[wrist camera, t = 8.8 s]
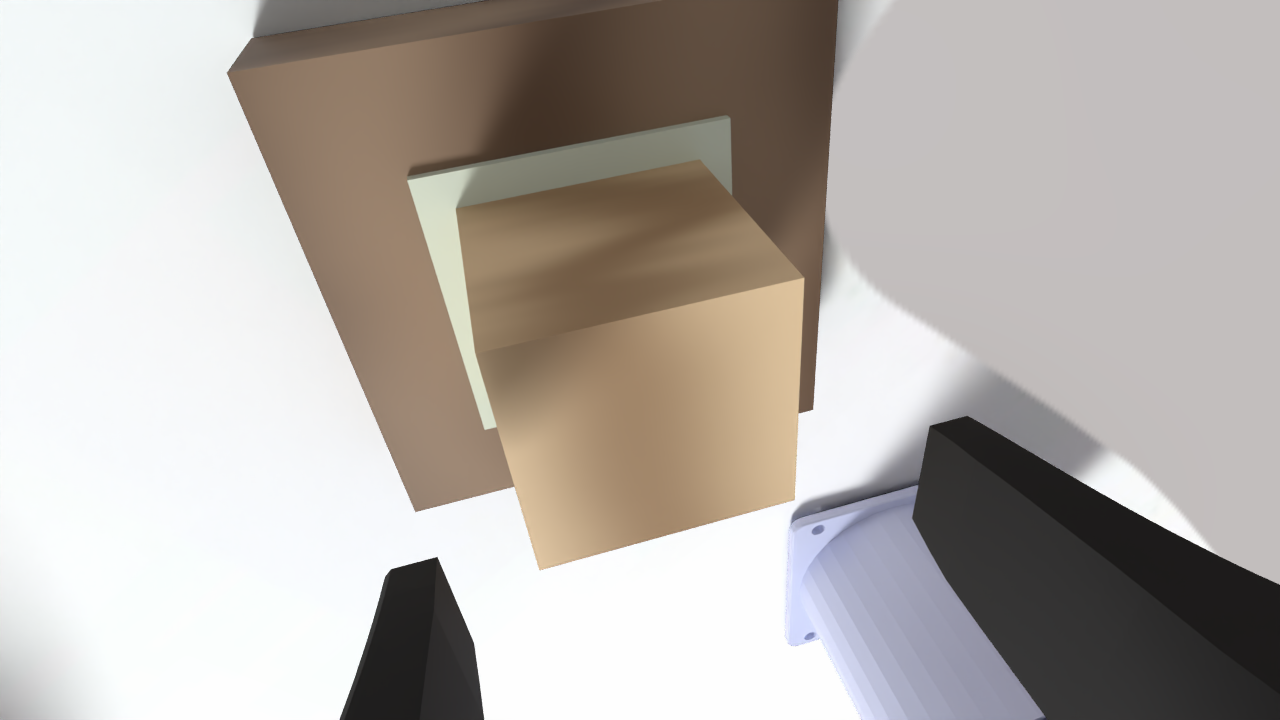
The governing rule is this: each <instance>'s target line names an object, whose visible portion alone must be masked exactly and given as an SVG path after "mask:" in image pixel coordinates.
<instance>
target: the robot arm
mask: <svg viewBox="0 0 1280 720" xmlns="http://www.w3.org/2000/svg"><path fill="white" fill-rule="evenodd" d="M785 638H786V640H787V642H788V644H789V645H791V646H798V645H801V644H805V643H808V642H811V641H815V640H818V639H820V640H821V642H822V644H823V646H824V648H825V650H826V652H827V654H828V656H829V658H830V660H831V662H832V664H833V665H834V667H835V669H836V671H837V673H838V675H839V677H840V679H841V681H842V683H843V685H844V687H845V689H846V691H847V693H848V695H849V697H850V699H851V701H852V703H853V705H854V707H855V709H856V711H857V712H858V714H859V716H860V718H861V720H1280V585H1279V584H1277V583H1274V582H1272V581H1270V580H1268V579H1266V578H1263V577H1261V576H1259V575H1257V574H1255V573H1253V572H1250V571H1248V570H1246V569H1244V568H1242V567H1240V566H1238V565H1236V564H1234V563H1232V562H1230V561H1228V560H1226V559H1224V558H1222V557H1219V556H1218V555H1216V554H1214V553H1212V552H1210V551H1208V550H1206V549H1204V548H1202V547H1200V546H1198V545H1196V544H1194V543H1192V542H1190V541H1188V540H1186V539H1184V538H1182V537H1180V536H1178V535H1176V534H1174V533H1173V532H1171V531H1169V530H1167V529H1165V528H1163V527H1161V526H1159V525H1157V524H1156V523H1154V522H1152V521H1150V520H1148V519H1146V518H1144V517H1143V516H1141V515H1139V514H1137V513H1135V512H1133V511H1132V510H1130V509H1128V508H1126V507H1124V506H1123V505H1121V504H1119V503H1117V502H1115V501H1114V500H1112V499H1110V498H1108V497H1107V496H1105V495H1103V494H1101V493H1099V492H1098V491H1096V490H1094V489H1092V488H1091V487H1089V486H1087V485H1085V484H1084V483H1082V482H1080V481H1079V480H1077V479H1075V478H1073V477H1072V476H1070V475H1068V474H1066V473H1065V472H1063V471H1061V470H1060V469H1058V468H1056V467H1055V466H1053V465H1051V464H1049V463H1048V462H1046V461H1044V460H1043V459H1041V458H1039V457H1038V456H1036V455H1034V454H1032V453H1031V452H1029V451H1027V450H1026V449H1024V448H1022V447H1021V446H1019V445H1017V444H1015V443H1014V442H1012V441H1010V440H1009V439H1007V438H1005V437H1004V436H1002V435H1000V434H998V433H997V432H995V431H993V430H992V429H990V428H988V427H986V426H985V425H983V424H981V423H979V422H977V421H976V420H974V419H972V418H970V417H968V416H965V417H961V418H958V419H954V420H950V421H946V422H943V423H939V424H935V425H931V426H930V428H929V433H928V438H927V443H926V448H925V453H924V459H923V464H922V469H921V474H920V479H919V484H918V485H916V486H912V487H909V488H905V489H902V490H898V491H894V492H891V493H887V494H884V495H880V496H877V497H873V498H869V499H866V500H862V501H859V502H855V503H851V504H848V505H844V506H841V507H837V508H834V509H830V510H826V511H823V512H819V513H816V514H812V515H808V516H805V517H801V518H799V519H797V520H795V521H794V522H793V523H792V524H791V526H790V529H789V544H788V569H787V593H786V618H785ZM340 720H484V715H483V707H482V699H481V691H480V683H479V676H478V669H477V662H476V655H475V647H474V642H473V640H472V637H471V635H470V633H469V630H468V628H467V626H466V623H465V621H464V619H463V616H462V614H461V612H460V609H459V607H458V605H457V602H456V600H455V597H454V595H453V593H452V590H451V588H450V586H449V583H448V581H447V579H446V576H445V574H444V572H443V569H442V567H441V565H440V562H439V560H438V557H436V558H432V559H428V560H424V561H421V562H417V563H413V564H409V565H406V566H402V567H398V568H394V569H391V570H390V571H389V573H388V574H387V575H386V577H385V579H384V583H383V587H382V591H381V595H380V598H379V602H378V606H377V609H376V613H375V616H374V619H373V623H372V626H371V629H370V633H369V636H368V639H367V642H366V645H365V649H364V652H363V655H362V658H361V661H360V664H359V667H358V670H357V673H356V676H355V679H354V682H353V684H352V687H351V690H350V693H349V695H348V698H347V701H346V703H345V706H344V709H343V712H342V714H341V717H340Z"/></svg>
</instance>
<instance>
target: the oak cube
mask: <svg viewBox="0 0 1280 720" xmlns="http://www.w3.org/2000/svg"><path fill="white" fill-rule="evenodd" d="M456 215H457V223H458V230H459V238H460V245H461V253H462V260H463V267H464V275H465V282H466V290H467V297H468V305H469V312H470V319H471V327H472V334H473V342H474V349H475V355H476V358H477V362H478V365H479V368H480V372H481V375H482V379H483V382H484V385H485V389H486V392H487V395H488V399H489V402H490V405H491V409H492V412H493V416H494V419H495V422H496V426H497V429H498V432H499V436H500V439H501V442H502V446H503V449H504V453H505V456H506V459H507V463H508V466H509V469H510V473H511V476H512V479H513V483H514V486H515V490H516V493H517V496H518V500H519V503H520V506H521V510H522V513H523V516H524V520H525V523H526V527H527V530H528V533H529V537H530V540H531V543H532V547H533V550H534V553H535V557H536V560H537V564H538V567H539V570H543V569H546V568H550V567H554V566H557V565H561V564H564V563H568V562H572V561H575V560H579V559H583V558H586V557H590V556H593V555H597V554H601V553H604V552H608V551H612V550H615V549H619V548H622V547H626V546H630V545H633V544H637V543H641V542H644V541H648V540H651V539H655V538H659V537H662V536H666V535H670V534H673V533H677V532H680V531H684V530H688V529H691V528H695V527H699V526H702V525H706V524H709V523H713V522H717V521H720V520H724V519H728V518H731V517H735V516H738V515H742V514H746V513H749V512H753V511H757V510H760V509H764V508H767V507H771V506H775V505H778V504H782V503H786V502H789V501H793V500H795V479H796V456H797V434H798V411H799V389H800V366H801V344H802V321H803V298H804V277H803V276H802V274H801V273H800V272H799V271H798V270H797V269H796V268H795V266H794V265H793V264H792V263H791V262H790V261H789V260H788V259H787V257H786V256H785V255H784V254H783V253H782V252H781V251H780V250H779V248H778V247H777V246H776V245H775V244H774V243H773V242H772V240H771V239H770V238H769V237H768V236H767V235H766V234H765V233H764V231H763V230H762V229H761V228H760V227H759V226H758V225H757V223H756V222H755V221H754V220H753V219H752V218H751V217H750V216H749V214H748V213H747V212H746V211H745V210H744V209H743V208H742V207H741V205H740V204H739V203H738V202H737V201H736V200H735V199H734V197H733V196H732V195H731V194H730V193H729V192H728V191H727V190H726V188H725V187H724V186H723V185H722V184H721V183H720V182H719V180H718V179H717V178H716V177H715V176H714V175H713V174H712V173H711V171H710V170H709V169H708V168H707V167H706V166H705V165H704V164H703V162H702V161H701V160H700V159H699V160H694V161H689V162H684V163H679V164H675V165H670V166H665V167H660V168H655V169H650V170H645V171H640V172H635V173H630V174H625V175H620V176H615V177H610V178H605V179H600V180H595V181H590V182H585V183H580V184H575V185H570V186H565V187H560V188H555V189H550V190H545V191H540V192H535V193H530V194H525V195H520V196H515V197H510V198H505V199H501V200H496V201H491V202H486V203H481V204H476V205H471V206H466V207H461V208H456Z"/></svg>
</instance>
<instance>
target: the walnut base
mask: <svg viewBox="0 0 1280 720" xmlns="http://www.w3.org/2000/svg"><path fill="white" fill-rule="evenodd" d="M837 13H838V0H487V1H481V2H475V3H469V4H462V5H456V6H450V7H444V8H437V9H431V10H425V11H419V12H412V13H406V14H400V15H394V16H388V17H381V18H375V19H369V20H363V21H356V22H350V23H344V24H338V25H331V26H325V27H319V28H313V29H307V30H300V31H294V32H288V33H282V34H275V35H269V36H263V37H257V38H251V40H250V41H249V42H248V44H247V45H246V47H245V48H244V49H243V51H242V52H241V54H240V55H239V57H238V58H237V59H236V61H235V62H234V64H233V65H232V66H231V68H230V69H229V71H228V72H227V74H228V77H229V79H230V81H231V83H232V86H233V88H234V90H235V93H236V95H237V97H238V100H239V102H240V104H241V107H242V109H243V111H244V114H245V116H246V118H247V121H248V123H249V125H250V128H251V130H252V132H253V135H254V137H255V139H256V142H257V144H258V146H259V149H260V151H261V153H262V156H263V158H264V160H265V163H266V165H267V167H268V170H269V172H270V174H271V177H272V179H273V181H274V184H275V186H276V188H277V191H278V193H279V195H280V198H281V200H282V202H283V205H284V207H285V209H286V212H287V214H288V216H289V219H290V221H291V223H292V226H293V228H294V230H295V233H296V235H297V237H298V240H299V242H300V244H301V247H302V249H303V251H304V254H305V256H306V258H307V261H308V263H309V265H310V267H311V270H312V272H313V274H314V277H315V279H316V281H317V284H318V286H319V288H320V291H321V293H322V295H323V298H324V300H325V302H326V305H327V307H328V309H329V312H330V314H331V316H332V319H333V321H334V323H335V326H336V328H337V330H338V333H339V335H340V337H341V340H342V342H343V344H344V347H345V349H346V351H347V354H348V356H349V358H350V361H351V363H352V365H353V368H354V370H355V372H356V375H357V377H358V379H359V382H360V384H361V386H362V389H363V391H364V393H365V396H366V398H367V400H368V403H369V405H370V407H371V410H372V412H373V414H374V417H375V419H376V421H377V424H378V426H379V428H380V431H381V433H382V435H383V438H384V440H385V442H386V444H387V447H388V449H389V451H390V454H391V456H392V458H393V461H394V463H395V465H396V468H397V470H398V472H399V475H400V477H401V479H402V482H403V484H404V486H405V489H406V491H407V493H408V496H409V498H410V500H411V503H412V505H413V507H414V510H415V512H417V511H421V510H425V509H429V508H433V507H437V506H441V505H445V504H449V503H452V502H456V501H460V500H464V499H468V498H472V497H476V496H480V495H483V494H487V493H491V492H495V491H499V490H503V489H507V488H511V487H515V486H514V483H513V479H512V476H511V473H510V469H509V466H508V463H507V459H506V456H505V453H504V449H503V446H502V442H501V439H500V436H499V432H498V429H497V426H496V422H495V419H494V416H493V412H492V409H491V405H490V402H489V399H488V395H487V392H486V389H485V385H484V382H483V379H482V375H481V372H480V368H479V365H478V362H477V358H476V355H475V349H474V342H473V334H472V327H471V319H470V312H469V305H468V297H467V290H466V282H465V275H464V267H463V260H462V253H461V245H460V238H459V230H458V223H457V215H456V208H461V207H466V206H471V205H476V204H481V203H486V202H491V201H496V200H501V199H505V198H510V197H515V196H520V195H525V194H530V193H535V192H540V191H545V190H550V189H555V188H560V187H565V186H570V185H575V184H580V183H585V182H590V181H595V180H600V179H605V178H610V177H615V176H620V175H625V174H630V173H635V172H640V171H645V170H650V169H655V168H660V167H665V166H670V165H675V164H679V163H684V162H689V161H694V160H699V159H700V160H701V161H702V162H703V164H704V165H705V166H706V167H707V168H708V169H709V170H710V171H711V173H712V174H713V175H714V176H715V177H716V178H717V179H718V180H719V182H720V183H721V184H722V185H723V186H724V187H725V188H726V190H727V191H728V192H729V193H730V194H731V195H732V196H733V197H734V199H735V200H736V201H737V202H738V203H739V204H740V205H741V207H742V208H743V209H744V210H745V211H746V212H747V213H748V214H749V216H750V217H751V218H752V219H753V220H754V221H755V222H756V223H757V225H758V226H759V227H760V228H761V229H762V230H763V231H764V233H765V234H766V235H767V236H768V237H769V238H770V239H771V240H772V242H773V243H774V244H775V245H776V246H777V247H778V248H779V250H780V251H781V252H782V253H783V254H784V255H785V256H786V257H787V259H788V260H789V261H790V262H791V263H792V264H793V265H794V266H795V268H796V269H797V270H798V271H799V272H800V273H801V274H802V276H803V277H804V298H803V321H802V344H801V366H800V389H799V411H798V413H802V412H806V411H810V410H813V402H814V386H815V370H816V353H817V337H818V321H819V305H820V289H821V272H822V256H823V240H824V224H825V208H826V191H827V174H828V159H829V143H830V126H831V110H832V94H833V78H834V62H835V46H836V29H837Z"/></svg>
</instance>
